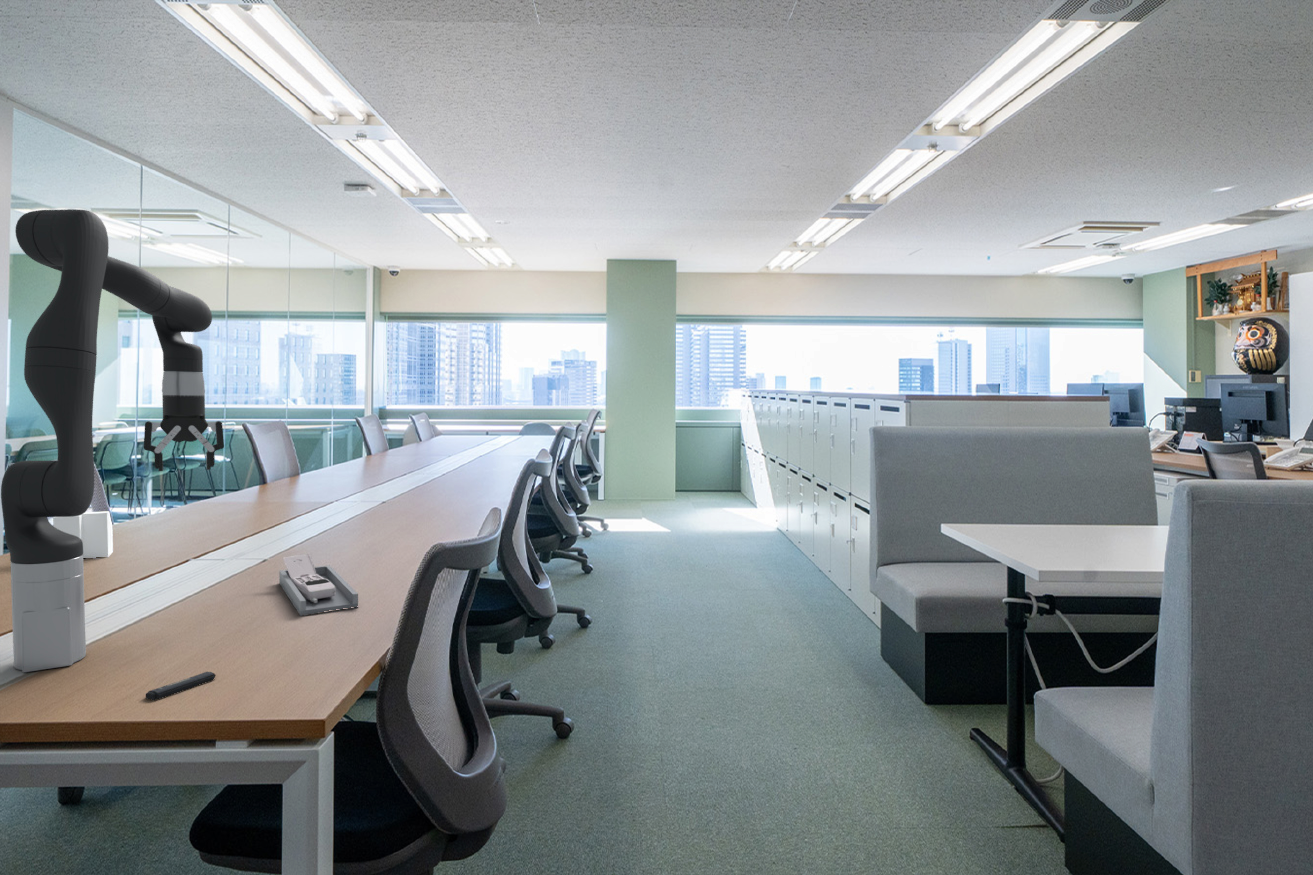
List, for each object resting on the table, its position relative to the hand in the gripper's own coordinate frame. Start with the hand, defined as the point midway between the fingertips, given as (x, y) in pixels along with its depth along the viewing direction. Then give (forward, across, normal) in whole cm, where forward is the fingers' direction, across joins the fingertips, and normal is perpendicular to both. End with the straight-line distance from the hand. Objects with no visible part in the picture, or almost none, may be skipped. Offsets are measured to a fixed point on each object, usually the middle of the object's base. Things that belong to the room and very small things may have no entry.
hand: (185, 470), depth 156 cm
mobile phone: (+27, +23, -8) cm, 36 cm away
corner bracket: (+28, -21, +61) cm, 71 cm away
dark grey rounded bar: (+29, -2, -54) cm, 61 cm away
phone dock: (+28, +24, -9) cm, 38 cm away
